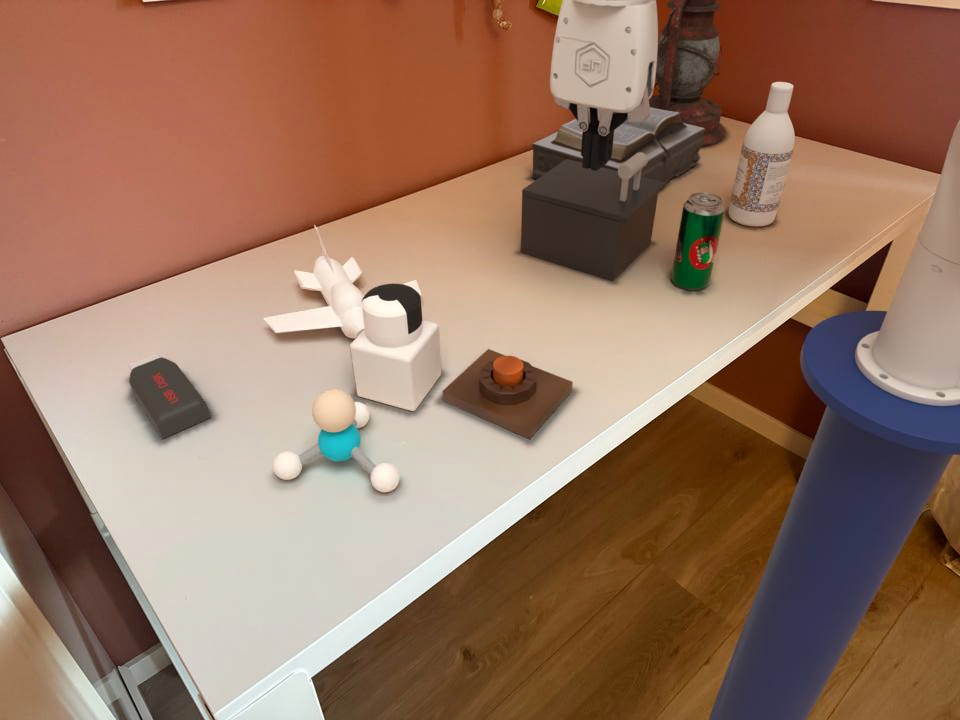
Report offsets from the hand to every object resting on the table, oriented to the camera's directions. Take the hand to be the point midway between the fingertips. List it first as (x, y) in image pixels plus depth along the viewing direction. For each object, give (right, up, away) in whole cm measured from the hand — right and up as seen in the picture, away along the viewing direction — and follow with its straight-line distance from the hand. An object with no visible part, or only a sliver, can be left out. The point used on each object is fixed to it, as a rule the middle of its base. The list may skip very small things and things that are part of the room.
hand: (595, 165), depth 79 cm
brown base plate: (-10, -26, -1) cm, 27 cm away
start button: (-10, -24, -3) cm, 26 cm away
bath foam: (+29, 0, +31) cm, 42 cm away
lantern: (+25, +23, +61) cm, 70 cm away
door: (+3, +2, +19) cm, 19 cm away
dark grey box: (+3, -5, +24) cm, 25 cm away
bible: (+11, +11, +46) cm, 48 cm away
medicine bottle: (-22, -25, 0) cm, 33 cm away
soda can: (+15, -11, +17) cm, 25 cm away
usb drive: (-47, -26, -1) cm, 54 cm away
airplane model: (-31, -15, +13) cm, 36 cm away
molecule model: (-27, -31, -8) cm, 42 cm away
